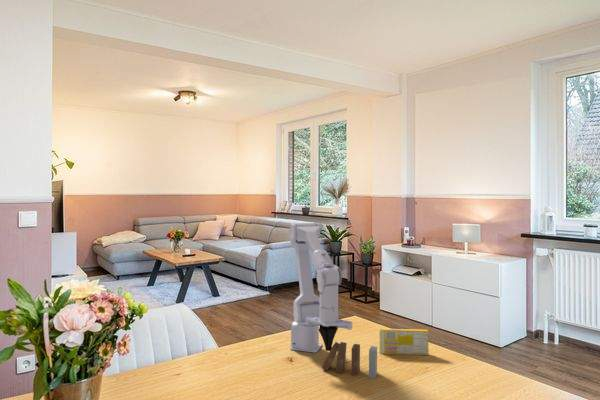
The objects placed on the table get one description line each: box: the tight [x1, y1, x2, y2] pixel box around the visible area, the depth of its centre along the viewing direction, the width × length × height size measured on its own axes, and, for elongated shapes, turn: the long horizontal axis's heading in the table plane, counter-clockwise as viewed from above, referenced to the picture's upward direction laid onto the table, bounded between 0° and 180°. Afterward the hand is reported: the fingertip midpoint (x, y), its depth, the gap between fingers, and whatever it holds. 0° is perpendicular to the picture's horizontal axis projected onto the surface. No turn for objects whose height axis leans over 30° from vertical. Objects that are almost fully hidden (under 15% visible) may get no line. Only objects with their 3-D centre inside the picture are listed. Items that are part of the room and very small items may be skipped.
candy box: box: [378, 327, 430, 356], centre depth 140 cm, size 16×2×8 cm, turn 84°
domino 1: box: [321, 341, 340, 372], centre depth 128 cm, size 2×4×8 cm, turn 162°
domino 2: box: [335, 341, 348, 374], centre depth 127 cm, size 2×4×8 cm, turn 161°
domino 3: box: [350, 343, 361, 376], centre depth 125 cm, size 2×4×8 cm, turn 161°
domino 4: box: [368, 345, 378, 379], centre depth 124 cm, size 2×4×8 cm, turn 161°
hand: (328, 349), depth 128 cm, fingers closed
